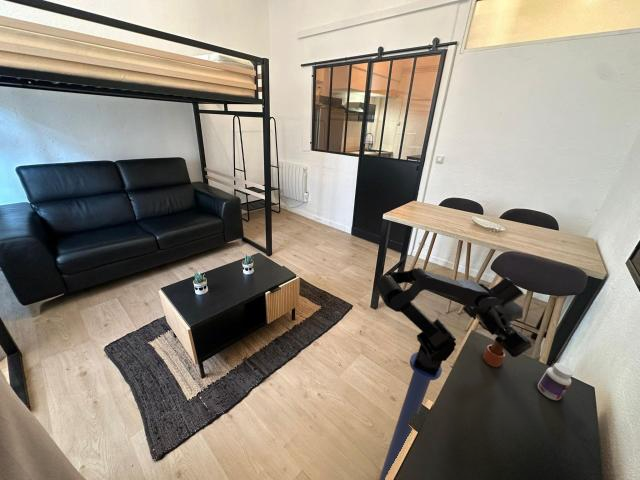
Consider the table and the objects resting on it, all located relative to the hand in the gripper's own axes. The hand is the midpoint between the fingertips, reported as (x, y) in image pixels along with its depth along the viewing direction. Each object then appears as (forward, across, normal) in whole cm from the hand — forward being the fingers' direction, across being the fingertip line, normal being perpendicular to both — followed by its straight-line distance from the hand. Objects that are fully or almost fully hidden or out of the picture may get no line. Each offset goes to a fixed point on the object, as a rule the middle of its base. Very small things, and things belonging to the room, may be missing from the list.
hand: (505, 339), depth 80 cm
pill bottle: (+12, -12, +1) cm, 17 cm away
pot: (+6, 0, +8) cm, 9 cm away
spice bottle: (+4, 0, +6) cm, 7 cm away
